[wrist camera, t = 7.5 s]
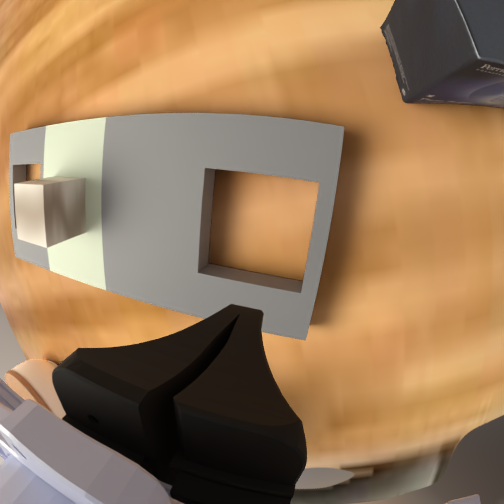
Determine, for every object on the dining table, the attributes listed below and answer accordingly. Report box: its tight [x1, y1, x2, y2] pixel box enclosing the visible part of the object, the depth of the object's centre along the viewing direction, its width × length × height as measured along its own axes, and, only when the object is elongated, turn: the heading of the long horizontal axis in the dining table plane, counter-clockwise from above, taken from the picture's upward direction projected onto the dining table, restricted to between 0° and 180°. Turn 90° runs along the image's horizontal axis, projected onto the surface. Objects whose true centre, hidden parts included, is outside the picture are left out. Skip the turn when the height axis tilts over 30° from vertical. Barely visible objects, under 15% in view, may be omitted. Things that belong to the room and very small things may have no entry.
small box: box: [380, 0, 504, 108], centre depth 8 cm, size 11×6×10 cm, turn 101°
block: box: [14, 177, 86, 248], centre depth 19 cm, size 4×4×4 cm
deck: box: [9, 113, 344, 340], centre depth 21 cm, size 14×32×2 cm, turn 84°
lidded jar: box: [5, 359, 66, 419], centre depth 29 cm, size 11×11×9 cm
